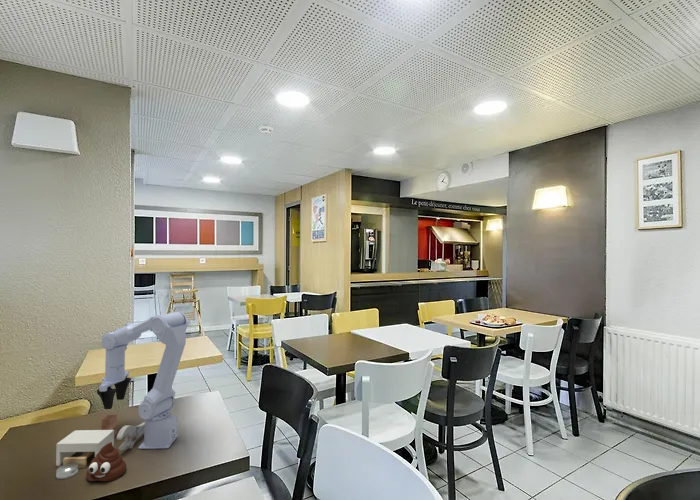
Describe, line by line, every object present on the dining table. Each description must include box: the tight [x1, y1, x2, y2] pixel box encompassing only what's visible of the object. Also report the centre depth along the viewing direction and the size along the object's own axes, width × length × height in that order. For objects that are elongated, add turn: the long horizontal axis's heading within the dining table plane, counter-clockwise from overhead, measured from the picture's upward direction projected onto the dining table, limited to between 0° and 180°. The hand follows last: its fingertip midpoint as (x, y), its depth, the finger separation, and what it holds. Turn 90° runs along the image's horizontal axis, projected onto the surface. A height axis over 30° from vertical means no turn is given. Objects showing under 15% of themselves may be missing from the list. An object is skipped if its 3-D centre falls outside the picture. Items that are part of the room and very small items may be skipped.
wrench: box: [116, 411, 172, 451], centre depth 127 cm, size 8×2×30 cm
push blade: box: [62, 414, 118, 469], centre depth 116 cm, size 6×19×7 cm, turn 4°
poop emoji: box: [85, 442, 127, 482], centre depth 104 cm, size 10×8×9 cm
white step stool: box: [55, 429, 115, 467], centre depth 112 cm, size 12×8×6 cm, turn 94°
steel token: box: [55, 462, 79, 480], centre depth 104 cm, size 5×5×2 cm
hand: (114, 403), depth 127 cm, fingers open, 7 cm apart
